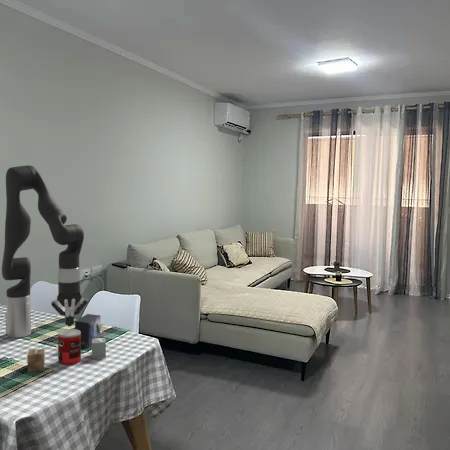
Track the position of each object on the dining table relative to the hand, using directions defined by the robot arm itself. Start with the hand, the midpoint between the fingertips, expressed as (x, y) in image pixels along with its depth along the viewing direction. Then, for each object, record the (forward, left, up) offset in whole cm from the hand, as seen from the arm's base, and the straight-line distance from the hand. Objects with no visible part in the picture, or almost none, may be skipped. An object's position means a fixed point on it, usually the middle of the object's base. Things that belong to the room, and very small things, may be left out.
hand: (69, 325), depth 164 cm
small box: (-7, +18, -14) cm, 24 cm away
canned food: (0, 0, -14) cm, 14 cm away
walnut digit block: (-6, -10, -14) cm, 18 cm away
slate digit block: (+6, +9, -14) cm, 17 cm away
